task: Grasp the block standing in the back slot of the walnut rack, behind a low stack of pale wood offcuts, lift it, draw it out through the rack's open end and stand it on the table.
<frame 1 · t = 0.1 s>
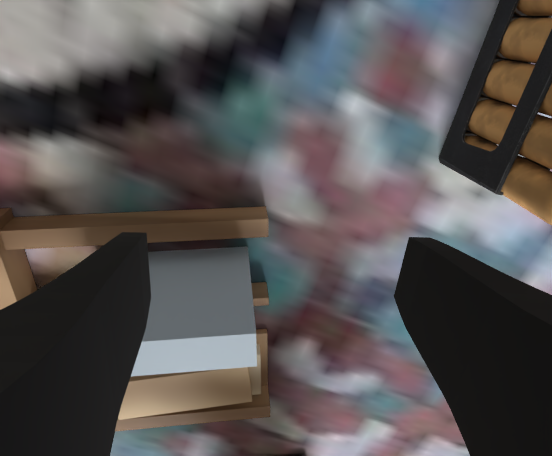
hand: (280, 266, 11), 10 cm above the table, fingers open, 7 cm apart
block: (175, 264, 23), resting in rack
ammunition clip: (494, 56, 19), on the table
rack: (164, 316, 24), on the table
offcut oak: (183, 381, 25), point 1 cm above the table, touching offcut birch
offcut birch: (179, 370, 26), resting on rack, touching offcut oak
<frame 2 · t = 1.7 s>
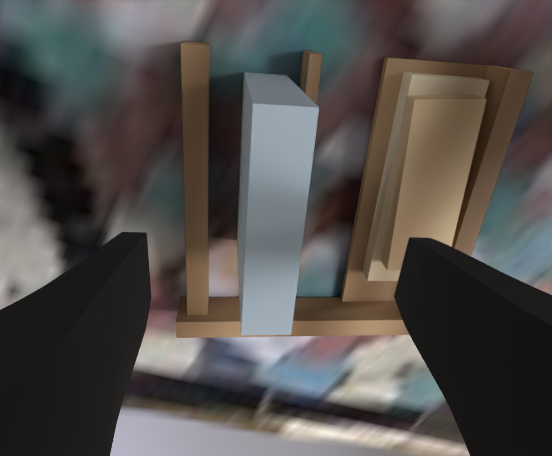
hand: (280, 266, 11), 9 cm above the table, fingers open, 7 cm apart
block: (259, 164, 19), resting in rack
rack: (330, 188, 20), on the table
offcut oak: (423, 185, 19), point 1 cm above the table, touching offcut birch
offcut birch: (414, 184, 20), resting on rack, touching offcut oak
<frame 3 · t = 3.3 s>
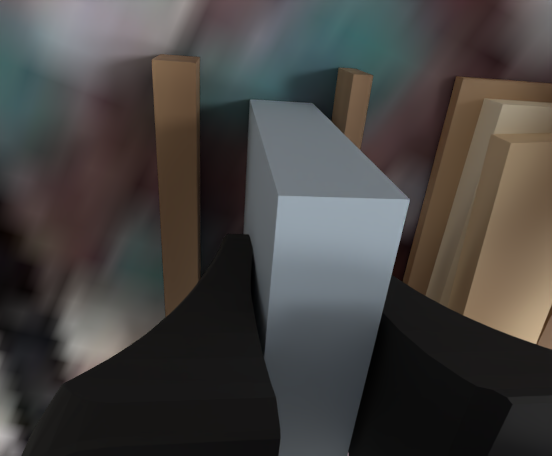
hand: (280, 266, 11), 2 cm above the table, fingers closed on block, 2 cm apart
block: (271, 226, 13), resting in rack, touching gripper
rack: (368, 254, 14), on the table
offcut oak: (503, 255, 13), point 1 cm above the table, touching offcut birch
offcut birch: (485, 249, 14), resting on rack, touching offcut oak
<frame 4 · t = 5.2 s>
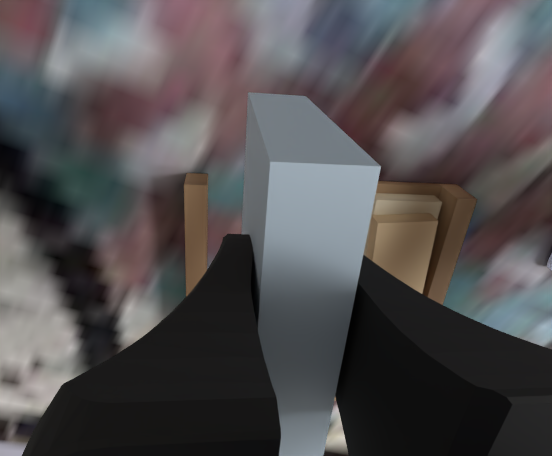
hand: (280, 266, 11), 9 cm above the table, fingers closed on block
block: (268, 211, 14), point 6 cm above the table, touching gripper
rack: (311, 279, 23), on the table
offcut oak: (389, 280, 22), point 1 cm above the table, touching offcut birch
offcut birch: (382, 276, 23), resting on rack, touching offcut oak
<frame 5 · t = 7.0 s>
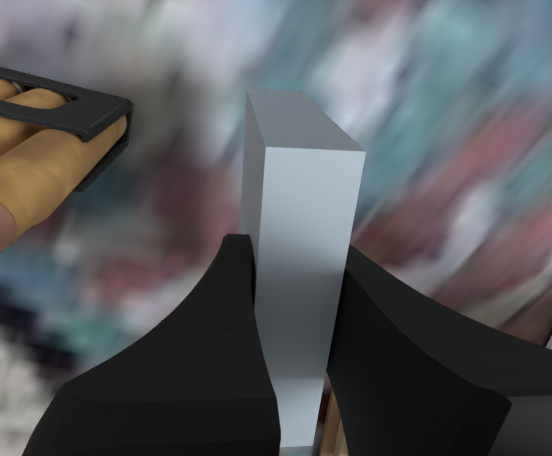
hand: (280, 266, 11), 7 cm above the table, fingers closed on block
block: (265, 202, 15), point 3 cm above the table, touching gripper
rack: (304, 400, 24), on the table
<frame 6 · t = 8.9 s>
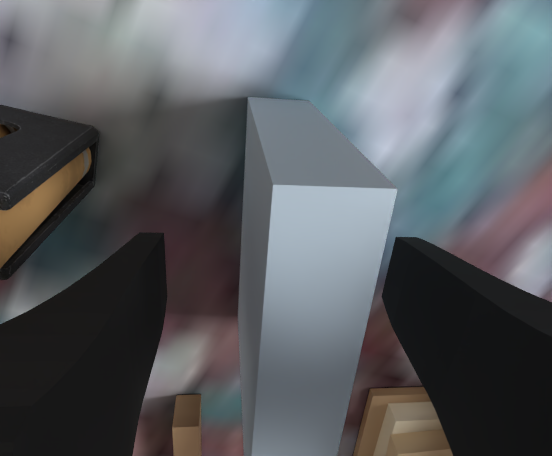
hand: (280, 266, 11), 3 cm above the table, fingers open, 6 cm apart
block: (268, 221, 14), on the table
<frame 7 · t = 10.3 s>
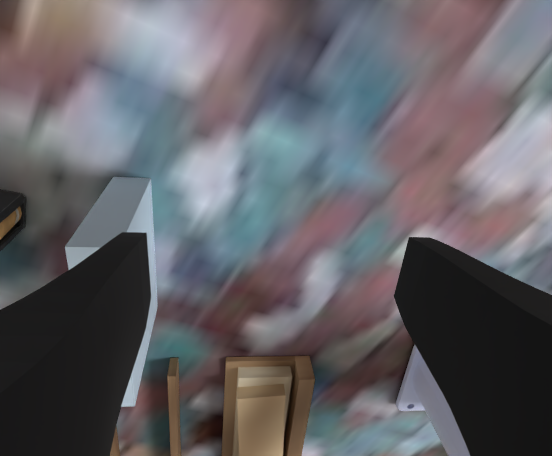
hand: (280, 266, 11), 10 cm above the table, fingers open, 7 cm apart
block: (137, 247, 22), on the table
rack: (201, 420, 29), on the table
offcut oak: (260, 427, 28), point 1 cm above the table, touching offcut birch
offcut birch: (258, 418, 29), resting on rack, touching offcut oak
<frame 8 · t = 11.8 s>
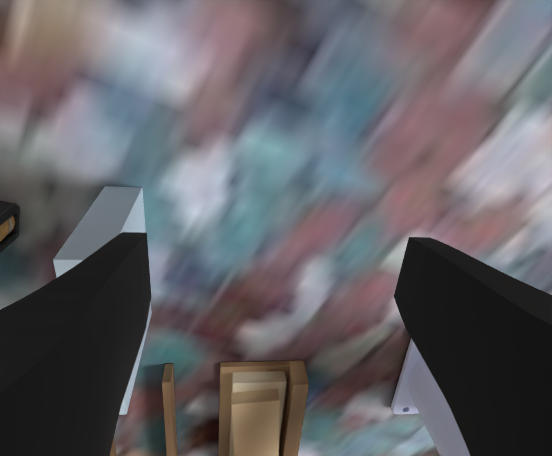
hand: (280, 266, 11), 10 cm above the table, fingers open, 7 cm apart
block: (130, 255, 22), on the table
rack: (197, 425, 29), on the table
offcut oak: (255, 431, 28), point 1 cm above the table, touching offcut birch
offcut birch: (254, 423, 29), resting on rack, touching offcut oak
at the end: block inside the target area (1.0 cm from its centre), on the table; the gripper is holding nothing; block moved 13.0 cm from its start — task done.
